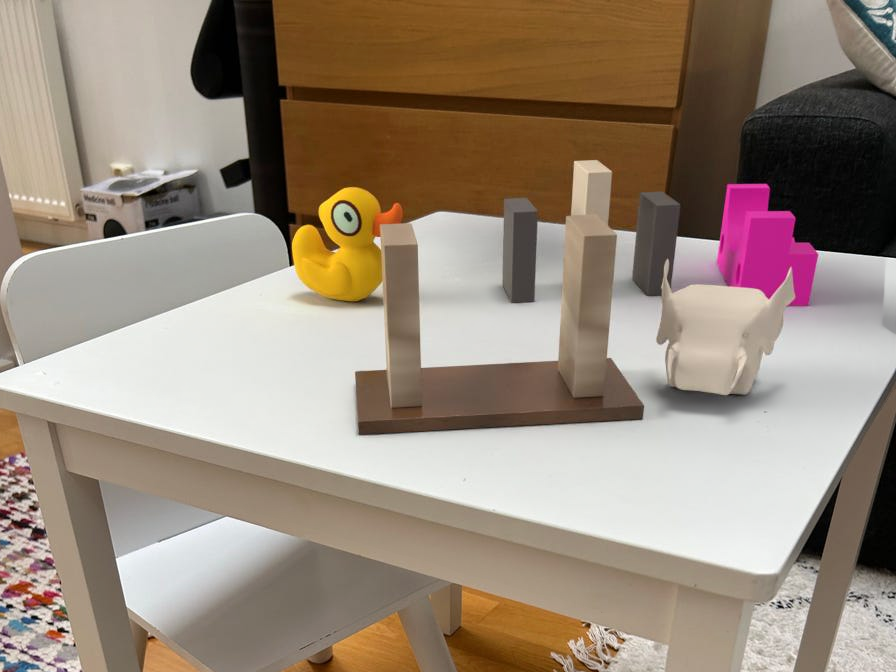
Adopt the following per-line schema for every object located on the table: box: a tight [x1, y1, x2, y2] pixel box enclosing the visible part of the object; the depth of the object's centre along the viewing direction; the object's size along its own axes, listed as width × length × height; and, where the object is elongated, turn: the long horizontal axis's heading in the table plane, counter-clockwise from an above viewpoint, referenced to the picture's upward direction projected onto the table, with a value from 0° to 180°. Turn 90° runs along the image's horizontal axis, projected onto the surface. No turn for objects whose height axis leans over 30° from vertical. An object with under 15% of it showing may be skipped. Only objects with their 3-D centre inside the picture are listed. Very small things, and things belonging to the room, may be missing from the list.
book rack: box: [354, 215, 645, 435], centre depth 70 cm, size 20×10×12 cm, turn 94°
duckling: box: [291, 186, 404, 302], centre depth 93 cm, size 11×5×10 cm, turn 67°
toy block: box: [716, 183, 819, 307], centre depth 94 cm, size 15×6×8 cm, turn 173°
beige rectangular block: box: [570, 159, 613, 226], centre depth 93 cm, size 2×6×11 cm, turn 4°
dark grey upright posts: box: [501, 191, 681, 304], centre depth 94 cm, size 15×6×8 cm, turn 94°
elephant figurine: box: [655, 259, 795, 396], centre depth 71 cm, size 10×12×9 cm
